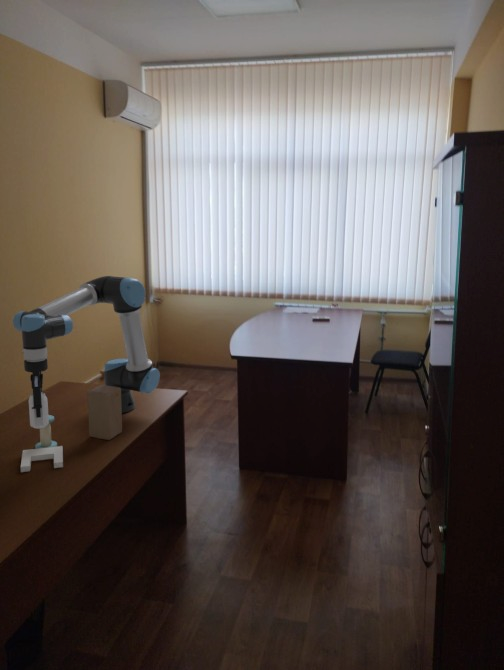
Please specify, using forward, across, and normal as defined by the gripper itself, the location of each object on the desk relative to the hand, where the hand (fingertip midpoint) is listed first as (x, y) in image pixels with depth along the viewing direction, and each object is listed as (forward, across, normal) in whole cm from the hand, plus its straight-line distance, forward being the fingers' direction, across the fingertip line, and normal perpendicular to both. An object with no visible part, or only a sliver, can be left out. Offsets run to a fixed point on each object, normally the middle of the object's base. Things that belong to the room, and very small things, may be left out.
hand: (39, 421), depth 191 cm
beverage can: (+2, 0, 0) cm, 2 cm away
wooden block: (+17, -21, +24) cm, 36 cm away
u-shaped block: (+17, -3, 0) cm, 17 cm away
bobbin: (+17, -15, +1) cm, 22 cm away
